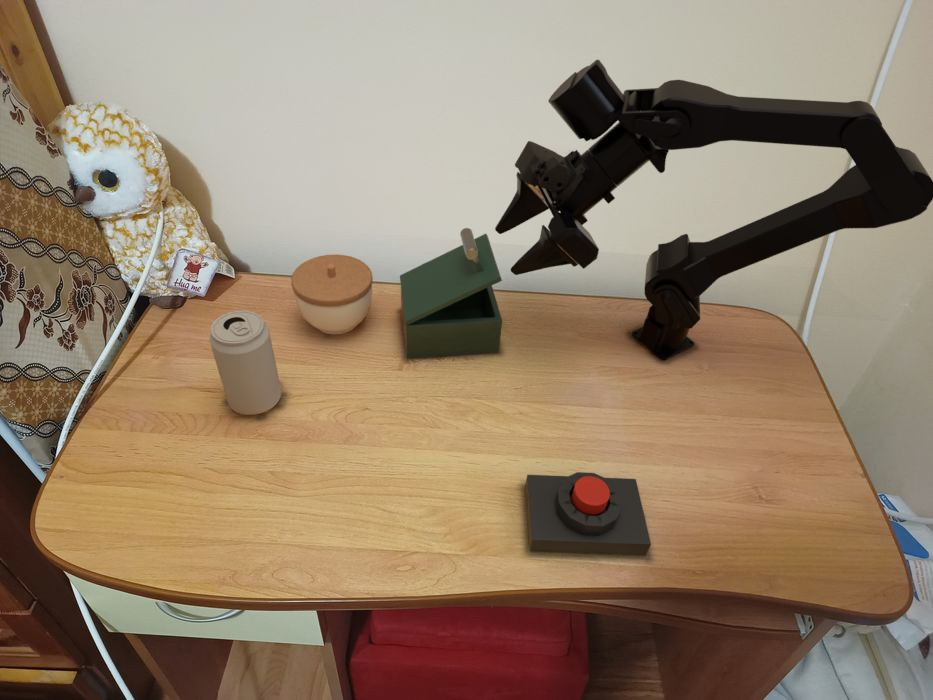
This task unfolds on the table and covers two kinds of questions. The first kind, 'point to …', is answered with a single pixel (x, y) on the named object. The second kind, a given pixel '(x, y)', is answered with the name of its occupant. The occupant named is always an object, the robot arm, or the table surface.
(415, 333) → the green box
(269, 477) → the table surface
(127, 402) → the table surface
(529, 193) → the robot arm
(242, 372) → the beverage can
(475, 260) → the lid
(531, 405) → the table surface
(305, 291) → the trinket box
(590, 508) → the button
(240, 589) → the table surface
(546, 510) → the panel
